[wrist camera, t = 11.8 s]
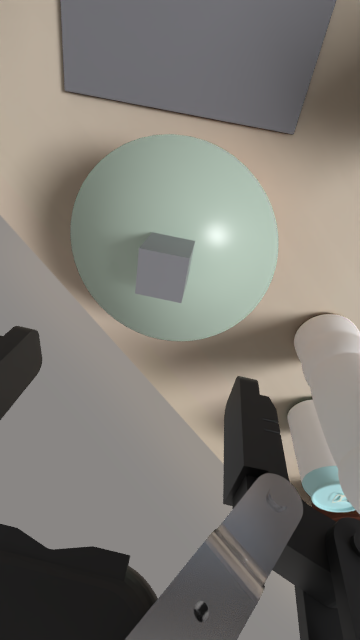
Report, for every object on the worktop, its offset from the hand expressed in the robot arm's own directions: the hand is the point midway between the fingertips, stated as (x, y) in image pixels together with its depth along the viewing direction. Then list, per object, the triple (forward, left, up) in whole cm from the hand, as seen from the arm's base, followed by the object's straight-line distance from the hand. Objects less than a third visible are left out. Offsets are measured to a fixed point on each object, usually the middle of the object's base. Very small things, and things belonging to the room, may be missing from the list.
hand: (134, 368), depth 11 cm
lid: (+1, -1, -15) cm, 15 cm away
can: (+23, +22, -22) cm, 39 cm away
